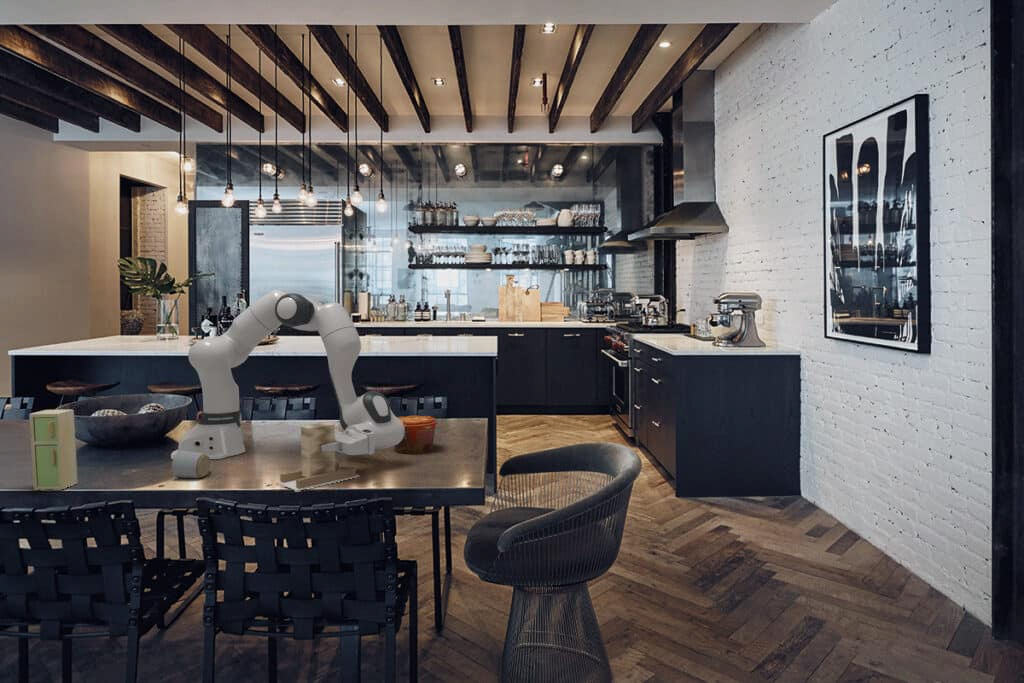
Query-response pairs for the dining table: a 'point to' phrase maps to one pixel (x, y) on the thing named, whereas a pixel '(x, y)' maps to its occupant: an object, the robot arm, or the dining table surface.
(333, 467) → the wooden block
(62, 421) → the toy refrigerator
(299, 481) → the track
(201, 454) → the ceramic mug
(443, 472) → the dining table surface
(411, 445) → the food container
